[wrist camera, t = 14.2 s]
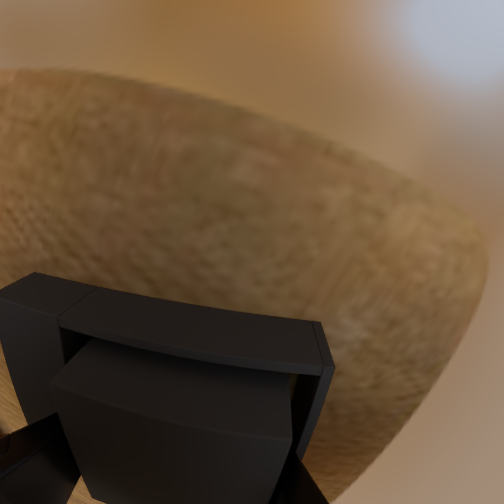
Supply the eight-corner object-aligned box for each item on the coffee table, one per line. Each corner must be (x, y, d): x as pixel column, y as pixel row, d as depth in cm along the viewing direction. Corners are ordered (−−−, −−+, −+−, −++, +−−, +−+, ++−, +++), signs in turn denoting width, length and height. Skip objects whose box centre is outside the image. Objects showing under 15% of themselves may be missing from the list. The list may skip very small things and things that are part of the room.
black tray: (321, 321, 9) (335, 367, 7) (279, 464, 11) (279, 510, 9) (34, 271, 10) (-10, 294, 7) (61, 414, 11) (37, 446, 9)
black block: (289, 372, 8) (293, 440, 5) (258, 484, 9) (254, 537, 7) (94, 334, 8) (47, 381, 6) (114, 453, 9) (91, 498, 7)
